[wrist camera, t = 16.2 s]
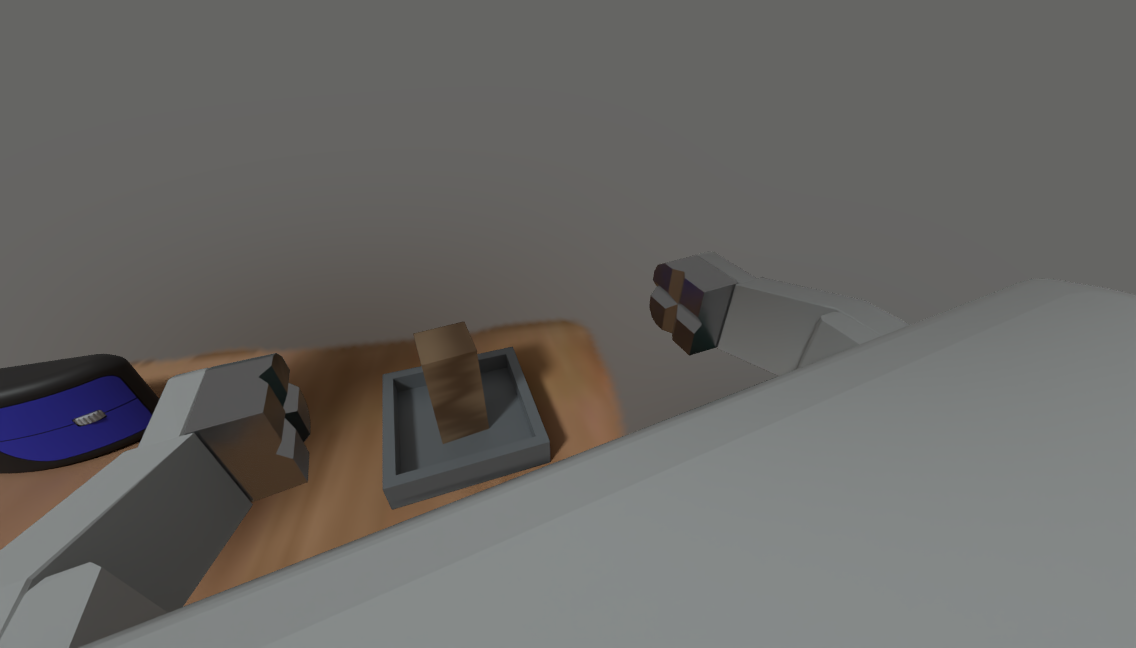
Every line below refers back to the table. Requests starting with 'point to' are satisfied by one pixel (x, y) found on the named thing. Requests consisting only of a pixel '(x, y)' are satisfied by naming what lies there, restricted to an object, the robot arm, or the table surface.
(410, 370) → the tray
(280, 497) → the table surface
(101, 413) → the blue scroll wheel mouse
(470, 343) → the walnut block
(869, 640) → the robot arm
